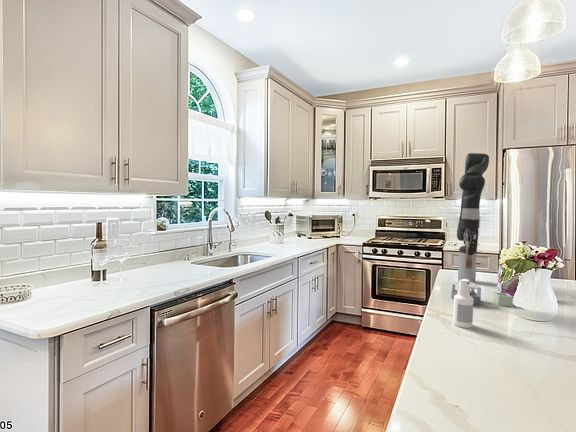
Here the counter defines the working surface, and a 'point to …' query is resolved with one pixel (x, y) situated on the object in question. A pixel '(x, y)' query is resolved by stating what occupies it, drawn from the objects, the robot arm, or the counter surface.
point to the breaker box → (474, 295)
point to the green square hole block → (502, 299)
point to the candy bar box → (507, 284)
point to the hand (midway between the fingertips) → (469, 254)
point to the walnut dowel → (468, 259)
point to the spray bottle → (463, 306)
